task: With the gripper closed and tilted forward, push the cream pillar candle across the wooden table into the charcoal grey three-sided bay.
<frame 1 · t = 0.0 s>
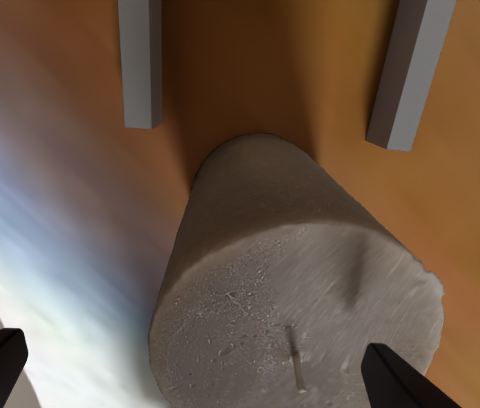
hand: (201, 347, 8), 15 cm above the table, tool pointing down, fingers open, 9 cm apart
pillar candle: (257, 198, 22), on the table
bay: (276, 49, 18), on the table
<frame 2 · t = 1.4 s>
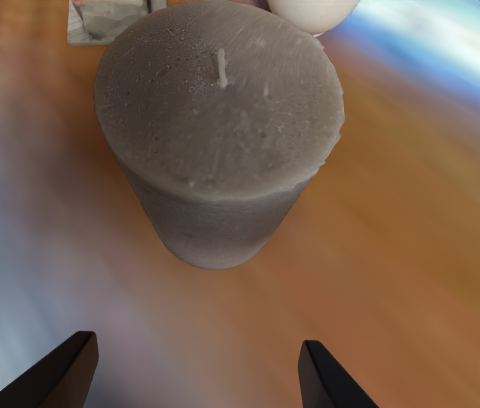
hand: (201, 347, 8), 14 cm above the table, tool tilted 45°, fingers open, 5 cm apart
pillar candle: (217, 212, 24), on the table
lidded jar: (302, 20, 34), on the table
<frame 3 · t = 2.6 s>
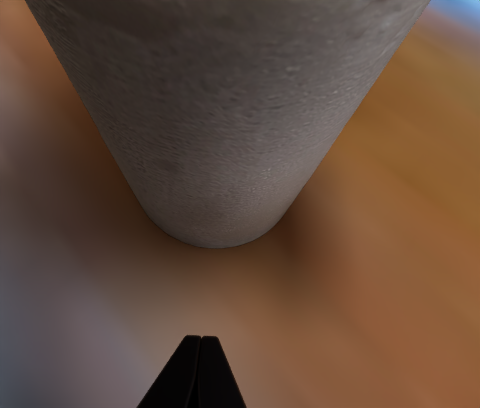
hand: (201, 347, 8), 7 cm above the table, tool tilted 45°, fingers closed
pillar candle: (219, 174, 18), on the table
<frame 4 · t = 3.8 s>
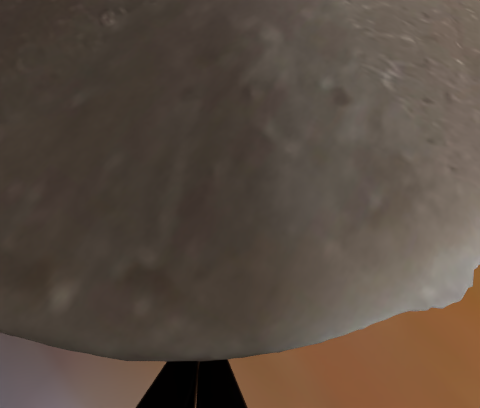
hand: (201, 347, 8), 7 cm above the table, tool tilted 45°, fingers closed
pillar candle: (210, 242, 17), on the table, touching gripper
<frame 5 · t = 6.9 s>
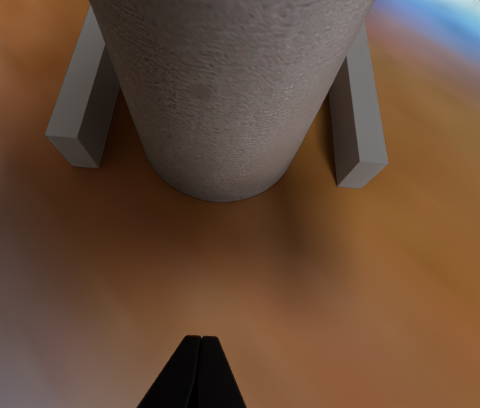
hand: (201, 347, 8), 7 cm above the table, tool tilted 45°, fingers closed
pillar candle: (223, 135, 19), on the table
bay: (226, 109, 19), on the table
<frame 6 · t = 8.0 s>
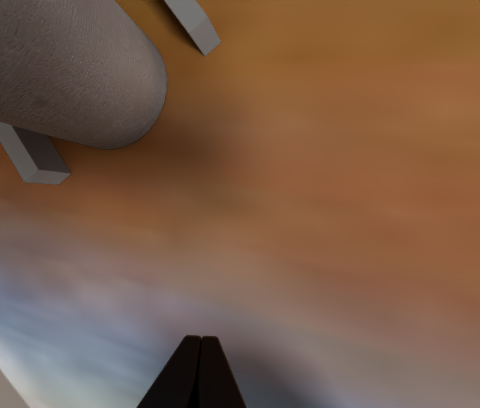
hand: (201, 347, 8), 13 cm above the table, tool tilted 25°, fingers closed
pillar candle: (114, 88, 23), on the table
bay: (100, 68, 23), on the table
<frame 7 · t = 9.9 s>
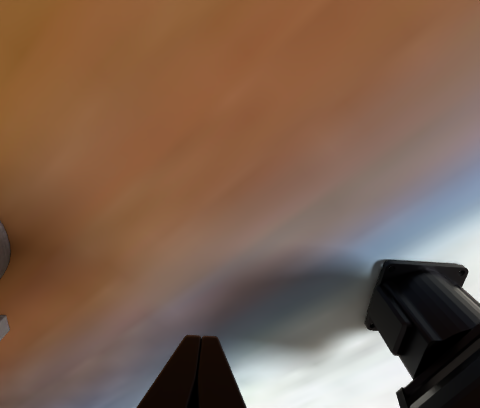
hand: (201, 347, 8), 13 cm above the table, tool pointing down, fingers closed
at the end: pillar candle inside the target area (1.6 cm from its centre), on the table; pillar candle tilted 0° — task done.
